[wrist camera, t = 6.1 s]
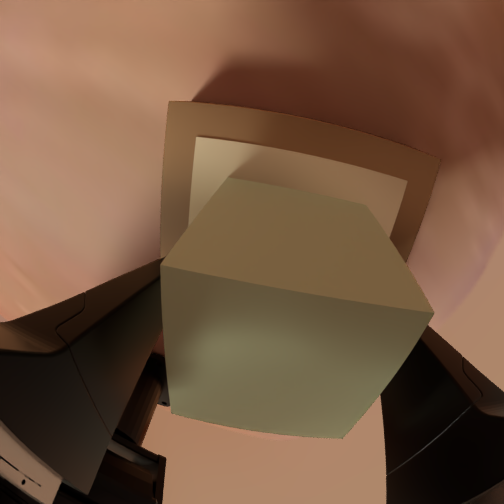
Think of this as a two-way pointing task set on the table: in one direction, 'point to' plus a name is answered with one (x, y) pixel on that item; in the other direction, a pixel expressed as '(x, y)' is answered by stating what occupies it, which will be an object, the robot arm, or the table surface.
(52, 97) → the table surface
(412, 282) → the sage block
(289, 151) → the walnut base
